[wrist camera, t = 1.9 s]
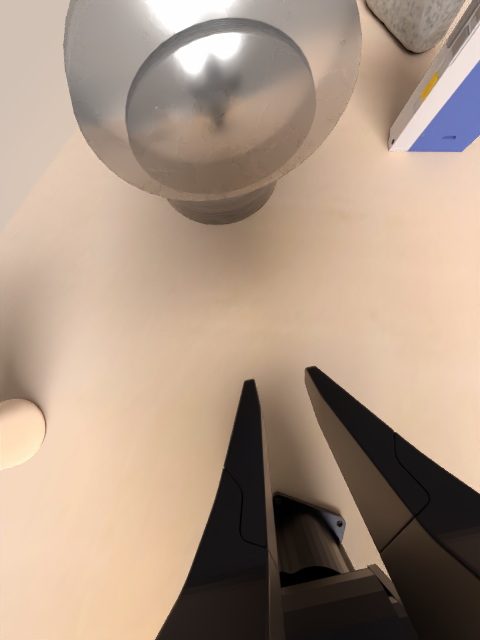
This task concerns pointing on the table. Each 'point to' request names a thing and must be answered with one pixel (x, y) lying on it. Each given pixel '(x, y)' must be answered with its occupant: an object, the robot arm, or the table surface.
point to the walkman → (445, 95)
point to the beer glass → (19, 431)
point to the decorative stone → (417, 20)
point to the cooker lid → (209, 88)
